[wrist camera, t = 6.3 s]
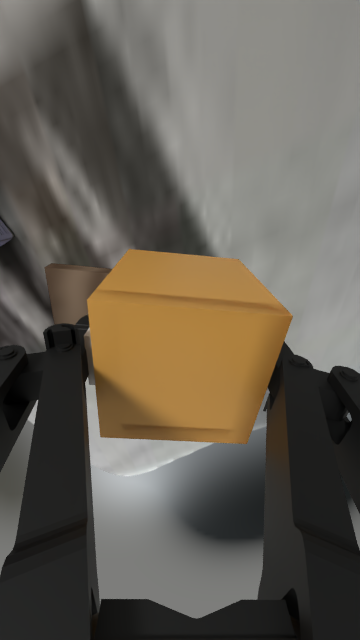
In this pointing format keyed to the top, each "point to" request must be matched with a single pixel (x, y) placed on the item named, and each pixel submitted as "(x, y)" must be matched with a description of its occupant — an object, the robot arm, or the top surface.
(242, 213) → the top surface
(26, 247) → the top surface
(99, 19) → the top surface
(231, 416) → the orange cube block
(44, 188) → the top surface
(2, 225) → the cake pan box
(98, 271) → the base plate
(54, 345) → the robot arm
